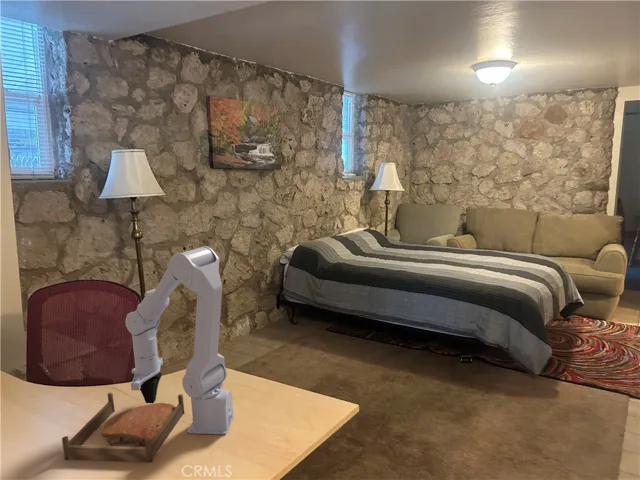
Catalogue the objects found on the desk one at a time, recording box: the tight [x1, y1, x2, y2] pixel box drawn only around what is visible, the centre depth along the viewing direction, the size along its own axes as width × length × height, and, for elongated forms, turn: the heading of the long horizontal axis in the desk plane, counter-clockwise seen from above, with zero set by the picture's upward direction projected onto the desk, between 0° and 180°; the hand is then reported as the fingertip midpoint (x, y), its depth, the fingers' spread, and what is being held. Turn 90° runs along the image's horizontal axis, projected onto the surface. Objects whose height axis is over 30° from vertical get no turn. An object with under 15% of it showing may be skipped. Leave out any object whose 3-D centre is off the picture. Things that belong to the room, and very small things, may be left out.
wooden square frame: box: [61, 392, 185, 464], centre depth 110 cm, size 20×20×5 cm
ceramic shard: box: [100, 402, 177, 447], centre depth 112 cm, size 15×6×15 cm
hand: (150, 401), depth 122 cm, fingers closed
